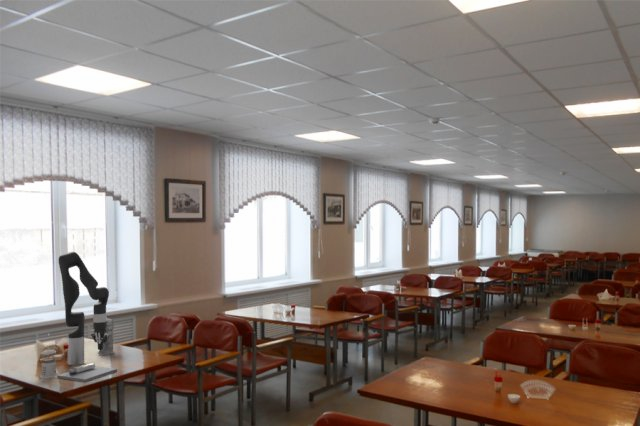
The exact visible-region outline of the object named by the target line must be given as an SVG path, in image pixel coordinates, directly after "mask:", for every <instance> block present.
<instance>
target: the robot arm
mask: <svg viewBox="0 0 640 426" xmlns="http://www.w3.org/2000/svg"><path fill="white" fill-rule="evenodd" d="M58 266H59V271H60V275H61V283H62V293H63V300H64V308H65V309H64V311H65V314H64V315H65V316H64V317H65V325H66V326H67V327H70V328H73V327H74V328H75V327H77V329H76V330H73V331H71V332H69V333H68V334H67V336H68V339H67V341H68V343H67V344H68V345H67V346H68V348H67V365H68V366H79V365H84V363H85V321H86V320H85V319H86V318H85V315H86V314H85V313H84V311H72V309H73V306H74V304H75V303H76V302H77V300H78V299H79V297H80V294H81V293H80V285H79V283H78V281H76V280H75V279H74V277H72V276H71V274H70V270H69V269H71V268H74V267H77V268H78V271H79V280H80V282H81V283H82V285H83V286H84V287H85V289H86V290H87V293H88V295H89V297H90V298H91V299H92V300H94V301H97V302H96V303H95V304H94V305H93V316H92V322H93V324H92V325H93V327H92V329H93V330H94V331H93V333H91V334H90V336H91V337H92V339H93V340H94V343H96V344H97V350H98V351H99V350H102V349H103V343H104V342H106V340H107V339H108V337H109V334H107V333H106V328H107V318H108V317H107V305H108V300H109V296H110V293H109V292H110V291H109V290H108V288H107V287H106V286H102V287H98V285H99V283H98V280H97V279H95V277H94V276H93V275H92V274H91V272H90V271H89V270H88V268H87V266H86V265H85V263H84V261H83V260H82V258H81V256H80V255H79V254H78V253H77V252H76V251H70V252H66V253H64V254H61V255H59V257H58Z"/></svg>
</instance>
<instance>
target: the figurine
mask: <svg viewBox="0 0 640 426" xmlns="http://www.w3.org/2000/svg"><path fill="white" fill-rule="evenodd" d="M114 329H115V325H114V321H113V319H112V318H109V317H107V328H106V333H107V334H109V337H108V339H107V340H106V342H104V343H103V349H102V350H98V352H97V355H98V354H99V355H98V356H108V355H110V356H111V355H114V354H115V352H114Z"/></svg>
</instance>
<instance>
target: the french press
mask: <svg viewBox="0 0 640 426" xmlns="http://www.w3.org/2000/svg"><path fill="white" fill-rule="evenodd" d="M46 336H48V337H50V336H51V333H49V332H48V333H47V335H46ZM56 353H57V350H54V349H50V348H48V349H46V350H44V351H42V352H41V353H40V354H41V355H42V356H45V357H44V358H43V359H41V364H40V365H41V366H40V367H41V374H40V376H39V378H40V379H48V378H53V377H54V378H55V377H57V375H59V373H57V360H56V357H48V356H50V355H54V354H56Z"/></svg>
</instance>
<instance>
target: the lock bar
mask: <svg viewBox="0 0 640 426" xmlns="http://www.w3.org/2000/svg"><path fill="white" fill-rule="evenodd" d="M95 366H96V363H93V362H90V364H87V365H84V364H82V365H81V366H77V367H72V368H70V369H68V372H69V374H76V373H78V372H82V371H85V370H88V369H92V368H95Z"/></svg>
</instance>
